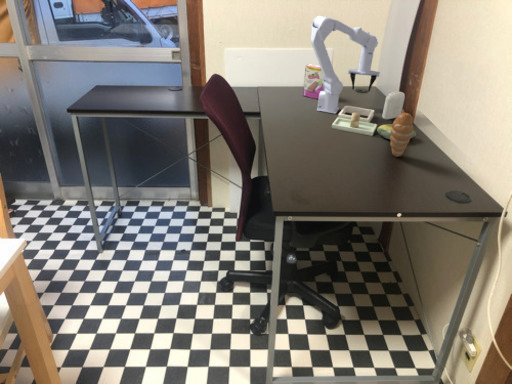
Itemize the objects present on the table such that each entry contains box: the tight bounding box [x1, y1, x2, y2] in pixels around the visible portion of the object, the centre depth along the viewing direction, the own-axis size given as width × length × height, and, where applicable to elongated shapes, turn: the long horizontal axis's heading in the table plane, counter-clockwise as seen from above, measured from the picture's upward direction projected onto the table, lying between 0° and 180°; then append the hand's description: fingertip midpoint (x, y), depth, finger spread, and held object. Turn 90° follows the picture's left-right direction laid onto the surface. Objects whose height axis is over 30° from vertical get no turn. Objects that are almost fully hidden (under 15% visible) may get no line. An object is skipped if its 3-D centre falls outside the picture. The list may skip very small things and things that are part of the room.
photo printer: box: [381, 91, 406, 120], centre depth 193 cm, size 10×4×12 cm, turn 123°
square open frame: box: [337, 105, 375, 123], centre depth 192 cm, size 14×14×3 cm
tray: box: [331, 116, 378, 137], centre depth 181 cm, size 18×10×2 cm, turn 66°
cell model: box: [376, 123, 417, 140], centre depth 173 cm, size 11×8×15 cm
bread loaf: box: [350, 113, 361, 128], centre depth 180 cm, size 4×4×6 cm
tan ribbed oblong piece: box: [389, 108, 414, 158], centre depth 154 cm, size 9×8×18 cm
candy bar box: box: [302, 63, 325, 100], centre depth 214 cm, size 11×5×16 cm, turn 58°
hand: (361, 89), depth 201 cm, fingers open, 7 cm apart
